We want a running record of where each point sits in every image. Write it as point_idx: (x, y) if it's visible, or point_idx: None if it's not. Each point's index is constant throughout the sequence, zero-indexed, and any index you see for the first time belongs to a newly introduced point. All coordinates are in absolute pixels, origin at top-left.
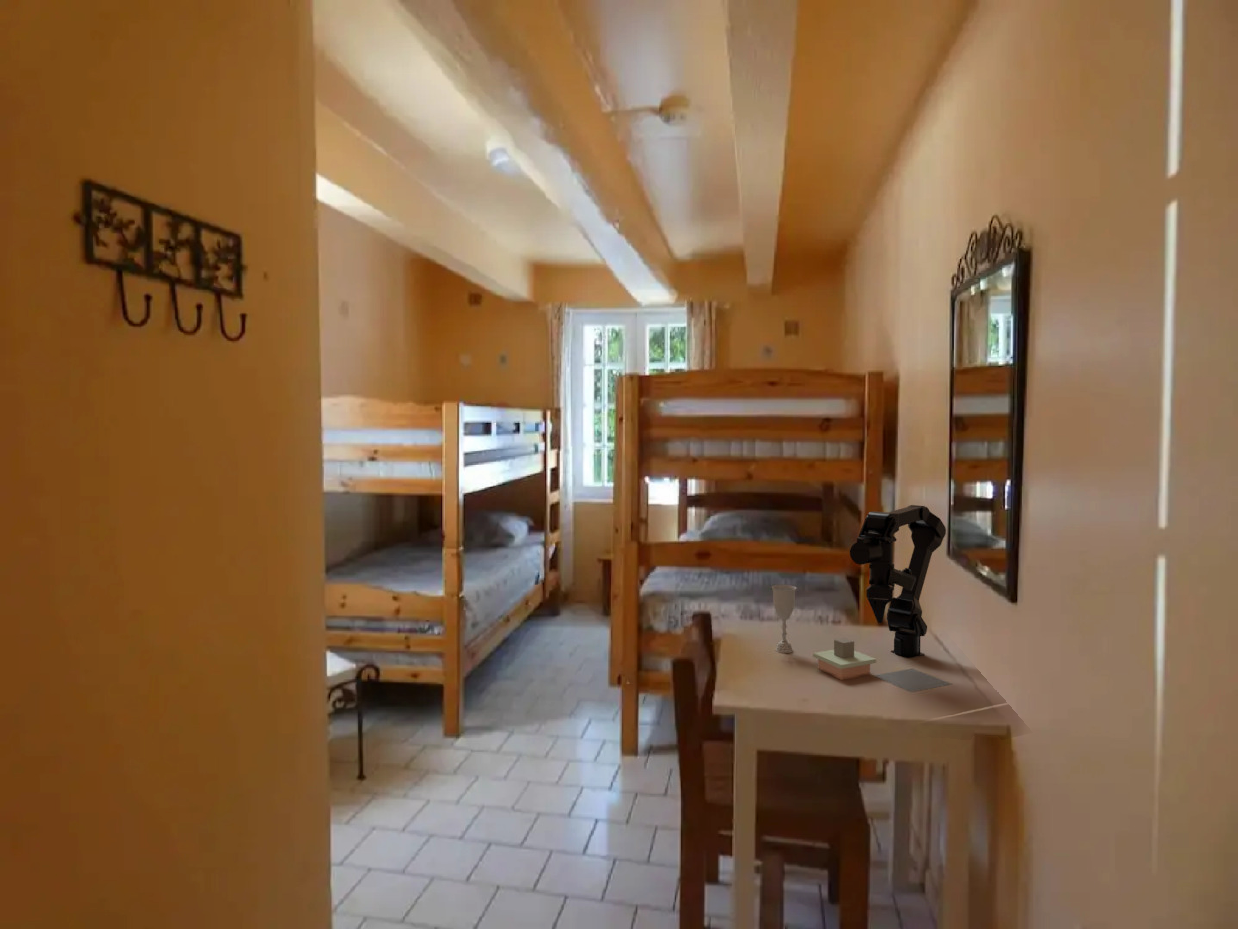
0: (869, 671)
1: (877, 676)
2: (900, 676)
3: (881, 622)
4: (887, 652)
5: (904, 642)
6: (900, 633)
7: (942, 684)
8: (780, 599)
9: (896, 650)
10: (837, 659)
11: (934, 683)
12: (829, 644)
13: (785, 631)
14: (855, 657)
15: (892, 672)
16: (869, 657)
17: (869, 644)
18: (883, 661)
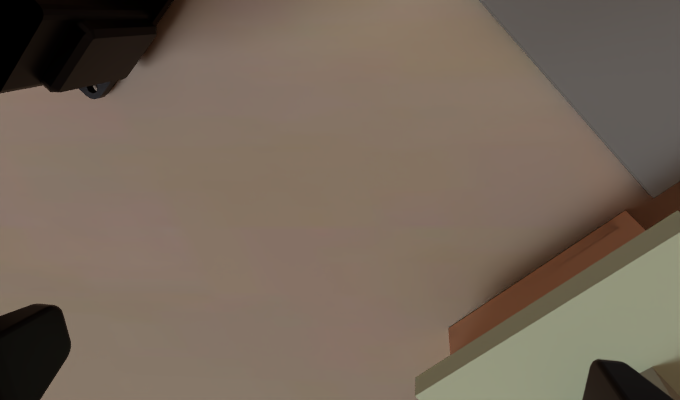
0: (639, 225)
1: (672, 169)
2: (648, 13)
3: (626, 374)
4: (96, 115)
5: (84, 3)
6: (4, 42)
7: None
8: None
9: (126, 62)
10: None
11: None
12: (112, 387)
13: None
14: (669, 360)
15: (557, 74)
16: (651, 270)
17: (5, 213)
18: (287, 135)
